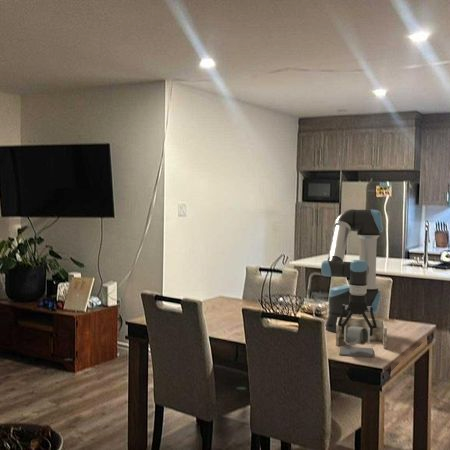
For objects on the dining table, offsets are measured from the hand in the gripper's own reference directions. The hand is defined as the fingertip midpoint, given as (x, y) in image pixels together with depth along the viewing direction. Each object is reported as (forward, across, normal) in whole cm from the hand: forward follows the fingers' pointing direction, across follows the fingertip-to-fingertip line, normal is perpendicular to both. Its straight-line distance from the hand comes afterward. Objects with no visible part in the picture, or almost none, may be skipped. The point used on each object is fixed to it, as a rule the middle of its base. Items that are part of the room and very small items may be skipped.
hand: (356, 341), depth 261 cm
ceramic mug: (+1, -1, -1) cm, 2 cm away
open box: (+5, +2, +19) cm, 20 cm away
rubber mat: (+5, 0, 0) cm, 5 cm away
